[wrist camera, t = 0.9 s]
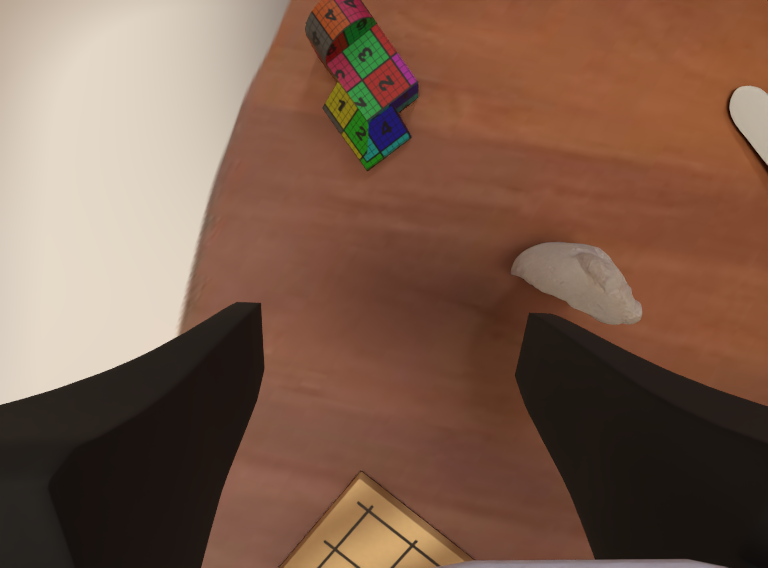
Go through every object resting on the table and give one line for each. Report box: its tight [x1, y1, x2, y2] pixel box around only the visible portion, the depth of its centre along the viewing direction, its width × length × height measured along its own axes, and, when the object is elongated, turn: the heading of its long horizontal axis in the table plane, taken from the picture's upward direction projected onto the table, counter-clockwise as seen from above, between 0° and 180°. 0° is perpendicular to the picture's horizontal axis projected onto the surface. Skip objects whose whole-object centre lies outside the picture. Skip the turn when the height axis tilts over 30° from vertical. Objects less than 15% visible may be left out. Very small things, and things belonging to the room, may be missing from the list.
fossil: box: [511, 242, 642, 325], centre depth 23 cm, size 6×4×10 cm, turn 68°
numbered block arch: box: [305, 0, 418, 171], centre depth 26 cm, size 8×5×4 cm
